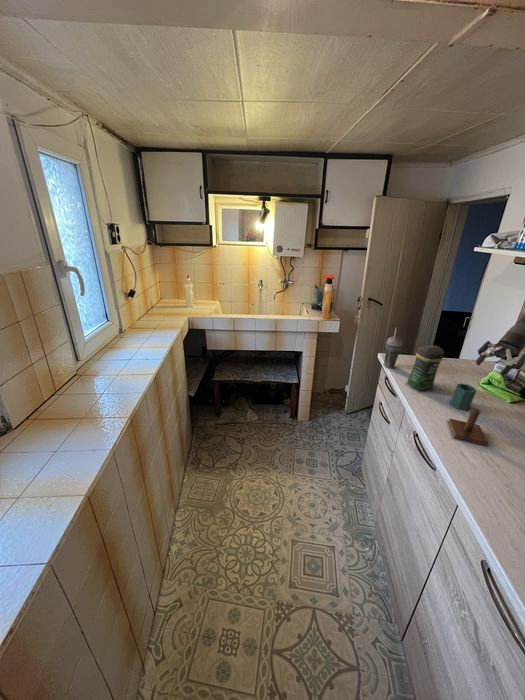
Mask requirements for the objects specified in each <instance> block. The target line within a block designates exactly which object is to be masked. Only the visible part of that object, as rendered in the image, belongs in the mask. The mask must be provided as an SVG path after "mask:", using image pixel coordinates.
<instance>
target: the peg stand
mask: <svg viewBox="0 0 525 700" xmlns="http://www.w3.org/2000/svg"><path fill="white" fill-rule="evenodd" d="M480 413H481V410H480V409H478V408H476V407H473V408H472V409H471V410H470V413H469V415H468V417H467V420H466V421H463V420H458V419H454V418H449V419H448V425H449V428H450V431H451V433H452V436H453V438H454V439H456V440H460V441H464V442H469V443H473V444H476V445H481V446H484V447H487V445H488V444H489V442H488V439H487V437H486V436H485V433H484V431H483V430H482V428H481V426H480V424H476V423H477V420H478V418H479V416H480Z"/></svg>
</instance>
